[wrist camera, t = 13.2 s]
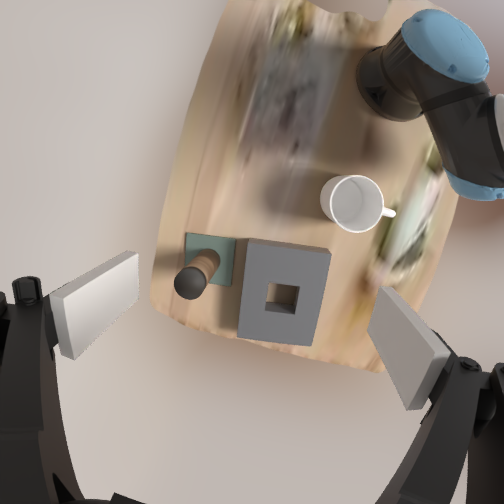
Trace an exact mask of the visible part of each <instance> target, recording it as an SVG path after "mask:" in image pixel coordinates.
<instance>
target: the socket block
mask: <svg viewBox="0 0 504 504" xmlns="http://www.w3.org/2000/svg"><path fill="white" fill-rule="evenodd" d="M331 255H332V254H331V253H330V251H329V250H328V249H327V248H320V247H313V246H306V245H298V244H291V243H284V242H277V241H269V240H262V239H254V238H250V239H249V241H248V246H247V254H246V263H245V271H244V280H243V288H242V297H241V306H240V315H239V323H238V332H237V337H239V338H245V339H252V340H259V341H267V342H275V343H283V344H292V345H301V346H311V345H312V341H313V337H314V333H315V329H316V325H317V321H318V317H319V312H320V308H321V304H322V299H323V294H324V290H325V285H326V280H327V275H328V270H329V265H330V260H331ZM269 282H270V283H277V284H285V285H293V286H297V290H296V296H295V301H294V305H288V304H280V303H272V302H266V298H267V291H268V284H269Z"/></svg>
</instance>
